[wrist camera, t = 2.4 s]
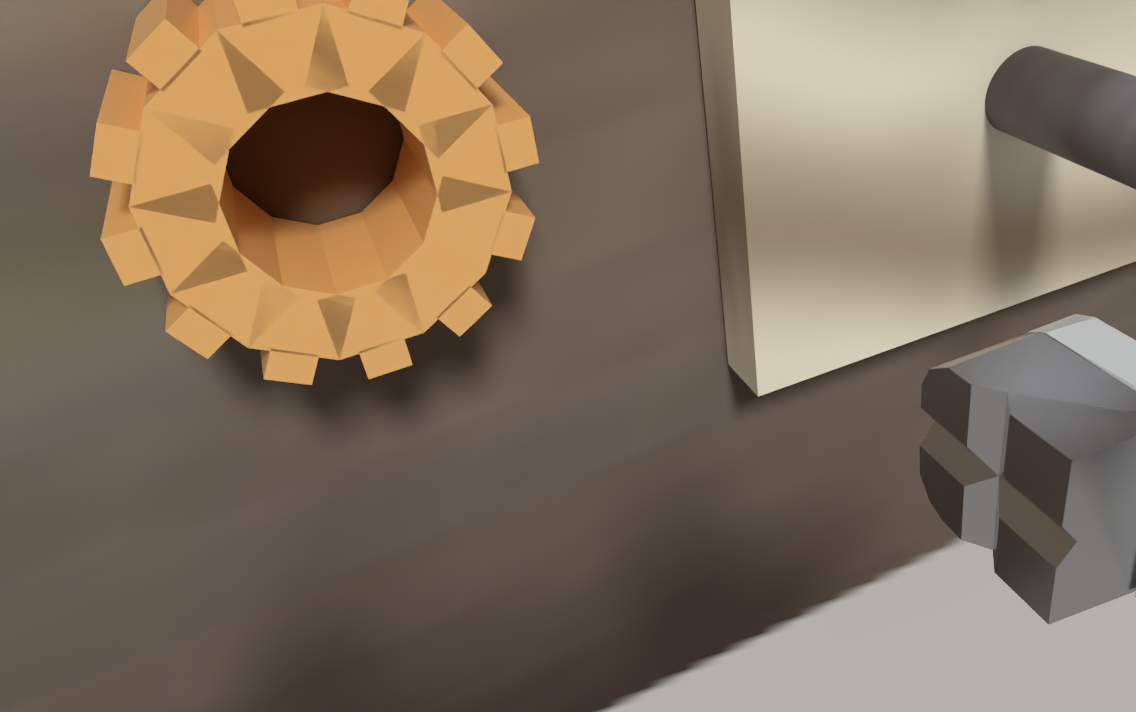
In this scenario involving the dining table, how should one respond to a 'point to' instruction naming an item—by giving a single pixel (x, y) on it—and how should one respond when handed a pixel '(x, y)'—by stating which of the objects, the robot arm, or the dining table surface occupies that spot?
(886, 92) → the gear board
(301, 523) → the dining table surface
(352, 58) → the orange gear
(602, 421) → the dining table surface
